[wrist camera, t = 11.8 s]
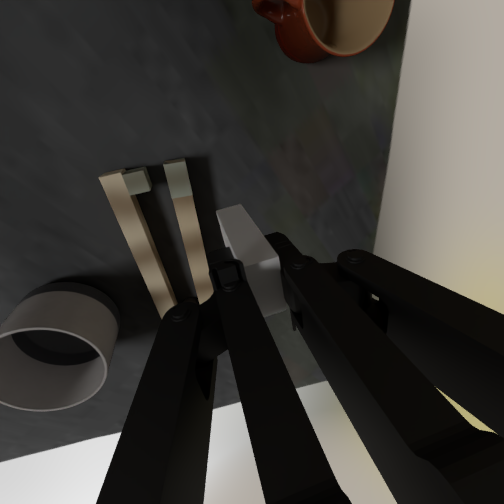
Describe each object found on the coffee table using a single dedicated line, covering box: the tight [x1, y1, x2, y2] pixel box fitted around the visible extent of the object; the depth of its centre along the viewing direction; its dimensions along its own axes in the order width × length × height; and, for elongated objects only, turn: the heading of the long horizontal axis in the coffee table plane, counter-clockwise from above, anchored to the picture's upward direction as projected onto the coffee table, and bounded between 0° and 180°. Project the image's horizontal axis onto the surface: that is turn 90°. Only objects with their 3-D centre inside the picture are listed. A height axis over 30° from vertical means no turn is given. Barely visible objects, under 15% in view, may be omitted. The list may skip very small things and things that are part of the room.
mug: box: [252, 0, 395, 63], centre depth 27 cm, size 12×9×10 cm
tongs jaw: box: [163, 158, 214, 304], centre depth 38 cm, size 22×2×3 cm, turn 7°
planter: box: [0, 282, 121, 411], centre depth 36 cm, size 13×13×10 cm
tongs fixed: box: [99, 166, 198, 319], centre depth 37 cm, size 24×6×6 cm, turn 11°
